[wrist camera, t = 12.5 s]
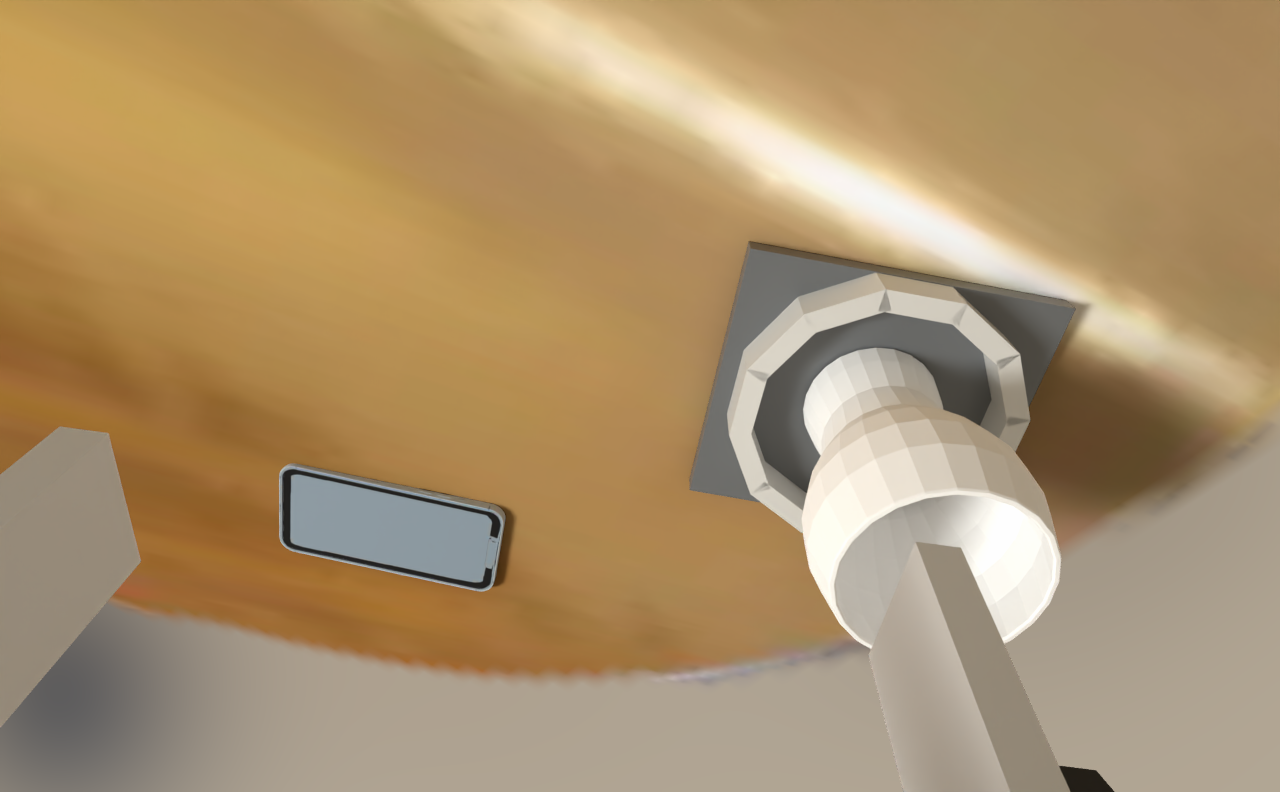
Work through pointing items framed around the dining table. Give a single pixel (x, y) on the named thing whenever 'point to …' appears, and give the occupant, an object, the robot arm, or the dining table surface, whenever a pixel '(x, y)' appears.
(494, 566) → the smartphone
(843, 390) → the cup
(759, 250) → the holder tray
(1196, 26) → the dining table surface
